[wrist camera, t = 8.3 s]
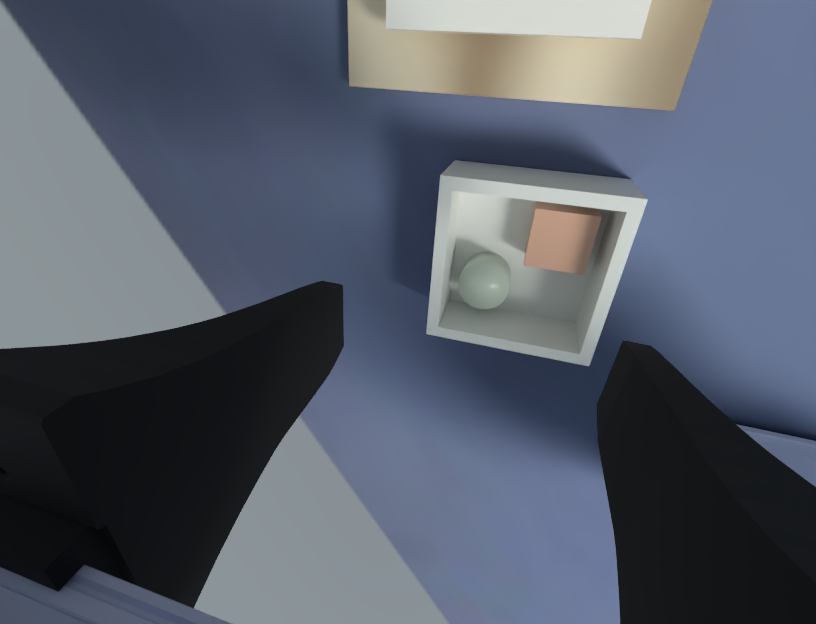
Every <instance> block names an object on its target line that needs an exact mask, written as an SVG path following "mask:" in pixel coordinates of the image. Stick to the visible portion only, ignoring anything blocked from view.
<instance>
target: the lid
mask: <svg viewBox="0 0 816 624" xmlns="http://www.w3.org/2000/svg"><path fill="white" fill-rule="evenodd" d="M651 2H652V0H386V29H389V30H394V31H419V32H444V33H469V34H494V35H518V36H543V37H568V38H593V39H617V40H639V39H641V37H642V34H643V30H644V26H645V23H646V19H647V16H648V12H649V9H650V5H651Z"/></svg>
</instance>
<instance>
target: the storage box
mask: <svg viewBox="0 0 816 624" xmlns="http://www.w3.org/2000/svg"><path fill="white" fill-rule="evenodd" d="M647 201H648V199H647V198H646V196H645V195H644V194H643V193H642V191H641V190H640V189H639V188H638V186H637V185H636V184H635V183H634V181H633V180H632V179H625V178H615V177H606V176H597V175H588V174H578V173H569V172H560V171H551V170H542V169H532V168H523V167H514V166H505V165H495V164H486V163H477V162H468V161H458V160H454V162H453V163H452V164H451V165H450V166H449V167H448V168H447V169H446V170H445V171H444V172H443V173H442V174H441V175H440V184H439V196H438V207H437V218H436V229H435V241H434V252H433V263H432V274H431V286H430V297H429V308H428V319H427V331H426V334H428V335H433V336H438V337H443V338H448V339H453V340H458V341H463V342H468V343H473V344H479V345H484V346H489V347H494V348H499V349H504V350H509V351H514V352H519V353H524V354H529V355H534V356H539V357H544V358H549V359H554V360H559V361H564V362H569V363H574V364H579V365H584V366H590V363H591V360H592V357H593V354H594V352H595V349H596V346H597V343H598V340H599V337H600V335H601V332H602V329H603V326H604V323H605V320H606V317H607V315H608V312H609V309H610V306H611V303H612V300H613V298H614V295H615V292H616V289H617V286H618V283H619V280H620V278H621V275H622V272H623V269H624V266H625V263H626V261H627V258H628V255H629V252H630V249H631V246H632V243H633V241H634V238H635V235H636V232H637V229H638V226H639V224H640V221H641V218H642V215H643V212H644V209H645V207H646V204H647Z"/></svg>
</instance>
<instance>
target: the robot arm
mask: <svg viewBox="0 0 816 624" xmlns="http://www.w3.org/2000/svg"><path fill="white" fill-rule="evenodd" d="M343 346H344V335H343V285H340V284H335V283H330V282H325V281H320V282H316V283H313V284H310V285H307V286H304V287H301V288H298V289H296V290H293V291H290V292H288V293H285V294H282V295H280V296H277V297H275V298H272V299H269V300H267V301H264V302H261V303H259V304H256V305H253V306H250V307H247V308H244V309H241V310H238V311H235V312H232V313H229V314H226V315H223V316H220V317H217V318H213V319H210V320H206V321H203V322H199V323H195V324H191V325H187V326H183V327H179V328H174V329H170V330H164V331H159V332H154V333H149V334H143V335H137V336H132V337H126V338H120V339H113V340H105V341H97V342H88V343H79V344H69V345H58V346H43V347H27V348H11V349H0V624H231V623H228V622H226V621H224V620H221V619H218V618H216V617H213V616H211V615H209V614H206V613H204V612H201V611H199V610H196V609H194V606H195V604H196V602H197V599H198V597H199V595H200V593H201V591H202V589H203V587H204V585H205V582H206V580H207V578H208V576H209V574H210V572H211V570H212V568H213V565H214V563H215V561H216V559H217V557H218V555H219V553H220V551H221V549H222V547H223V545H224V543H225V541H226V539H227V537H228V535H229V533H230V531H231V529H232V527H233V525H234V523H235V521H236V519H237V518H238V516H239V514H240V512H241V510H242V508H243V506H244V504H245V503H246V501H247V499H248V497H249V495H250V493H251V491H252V490H253V488H254V486H255V484H256V482H257V481H258V479H259V477H260V475H261V474H262V472H263V470H264V468H265V467H266V465H267V463H268V461H269V460H270V458H271V456H272V455H273V453H274V451H275V449H276V448H277V446H278V445H279V443H280V442H281V440H282V438H283V437H284V436H285V434H286V433H287V431H288V430H289V429H290V427H291V426H292V425H293V423H294V422H295V420H296V419H297V418H298V416H299V415H300V414H301V412H302V411H303V410H304V408H305V407H306V406H307V404H308V403H309V401H310V400H311V399H312V397H313V396H314V395H315V393H316V392H317V390H318V389H319V388H320V386H321V385H322V384H323V382H324V381H325V379H326V378H327V376H328V375H329V373H330V372H331V370H332V368H333V366H334V364H335V362H336V360H337V358H338V356H339V354H340V352H341V350H342V348H343ZM597 428H598V444H599V450H600V456H601V462H602V468H603V473H604V479H605V485H606V490H607V496H608V501H609V507H610V512H611V518H612V524H613V529H614V537H615V545H616V555H617V570H618V585H619V602H620V623H621V624H816V441H813V440H808V439H804V438H799V437H794V436H789V435H785V434H780V433H775V432H771V431H766V430H761V429H756V428H752V427H747V426H742V425H737V424H735V423H734V422H733V421H731V420H730V419H729V418H728V417H727V416H726V415H725V414H724V413H722V412H721V411H720V410H719V409H718V408H717V407H716V406H715V405H714V404H712V403H711V402H710V401H709V400H708V399H707V398H706V397H705V396H704V395H703V394H702V393H701V392H700V391H699V390H698V389H696V388H695V387H694V386H693V385H692V384H691V383H690V382H689V381H688V380H687V379H686V378H685V377H684V376H683V375H682V374H681V373H680V372H679V371H678V370H677V369H676V368H675V367H674V366H673V365H672V364H671V363H670V362H668V361H667V360H666V359H665V358H664V357H663V356H662V355H661V354H660V353H659V352H658V351H656V350H655V349H654V348H653V347H651V346H648V345H643V344H638V343H633V342H628V341H623V342H622V344H621V347H620V349H619V352H618V354H617V357H616V359H615V362H614V364H613V366H612V369H611V371H610V374H609V376H608V379H607V381H606V384H605V386H604V389H603V391H602V394H601V396H600V398H599V401H598V403H597Z"/></svg>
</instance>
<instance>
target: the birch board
mask: <svg viewBox="0 0 816 624" xmlns="http://www.w3.org/2000/svg"><path fill="white" fill-rule="evenodd" d="M347 1H348V52H349V86H352V87H365V88H379V89H392V90H405V91H419V92H432V93H445V94H459V95H472V96H485V97H499V98H512V99H525V100H539V101H552V102H565V103H579V104H592V105H605V106H619V107H632V108H645V109H659V110H672V111H675V108H676V105H677V102H678V99H679V96H680V93H681V90H682V88H683V85H684V82H685V79H686V76H687V73H688V70H689V67H690V64H691V62H692V59H693V56H694V53H695V50H696V47H697V44H698V41H699V38H700V36H701V33H702V30H703V27H704V24H705V21H706V18H707V15H708V12H709V10H710V7H711V4H712V1H713V0H652V2H651V5H650V9H649V12H648V16H647V19H646V23H645V26H644V30H643V34H642V37H641V39H639V40H617V39H593V38H568V37H543V36H518V35H494V34H469V33H444V32H419V31H394V30H389V29H386V0H347Z"/></svg>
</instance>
